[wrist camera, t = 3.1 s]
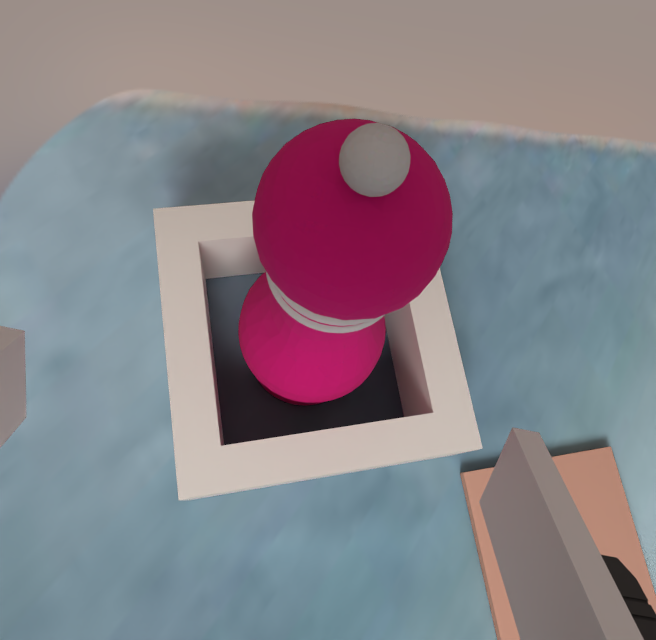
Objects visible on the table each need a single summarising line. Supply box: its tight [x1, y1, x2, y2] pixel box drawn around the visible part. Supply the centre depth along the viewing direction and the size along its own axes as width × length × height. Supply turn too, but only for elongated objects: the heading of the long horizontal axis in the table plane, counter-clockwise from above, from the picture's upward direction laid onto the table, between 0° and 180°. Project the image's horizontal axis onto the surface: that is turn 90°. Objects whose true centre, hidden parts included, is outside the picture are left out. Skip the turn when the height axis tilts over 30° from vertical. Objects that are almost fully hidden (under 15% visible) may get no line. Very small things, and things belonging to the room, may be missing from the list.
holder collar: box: [153, 201, 483, 500], centre depth 30 cm, size 14×14×5 cm
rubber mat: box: [460, 447, 656, 640], centre depth 30 cm, size 9×9×1 cm
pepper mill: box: [238, 119, 452, 406], centre depth 23 cm, size 7×7×20 cm
